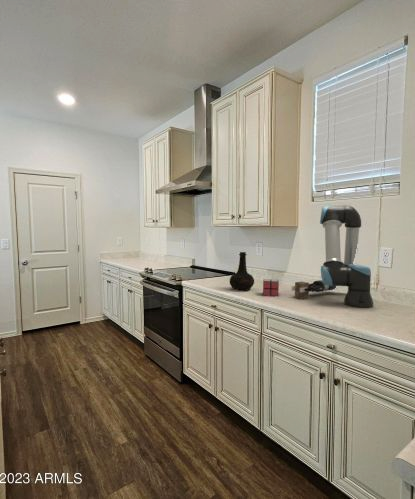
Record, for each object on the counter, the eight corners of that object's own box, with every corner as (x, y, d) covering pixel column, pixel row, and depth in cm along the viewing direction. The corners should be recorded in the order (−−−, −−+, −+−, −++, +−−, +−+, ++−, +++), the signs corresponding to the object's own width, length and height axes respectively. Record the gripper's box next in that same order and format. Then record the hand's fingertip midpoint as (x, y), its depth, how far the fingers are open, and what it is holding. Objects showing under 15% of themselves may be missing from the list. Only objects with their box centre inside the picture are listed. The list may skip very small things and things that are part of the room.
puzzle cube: (278, 296, 197) (278, 281, 196) (263, 295, 199) (263, 281, 198) (277, 293, 207) (278, 279, 206) (263, 292, 209) (263, 278, 208)
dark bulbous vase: (224, 289, 220) (224, 252, 219) (239, 286, 233) (240, 250, 231) (243, 293, 208) (244, 253, 206) (258, 289, 220) (259, 252, 219)
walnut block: (308, 298, 192) (308, 282, 191) (302, 299, 189) (302, 283, 188) (301, 296, 197) (301, 281, 196) (294, 297, 194) (295, 282, 193)
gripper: (332, 293, 194) (308, 297, 182) (308, 289, 210) (285, 292, 198) (332, 282, 194) (308, 285, 181) (308, 278, 210) (285, 281, 198)
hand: (296, 289), depth 190 cm, fingers closed on walnut block, 6 cm apart
